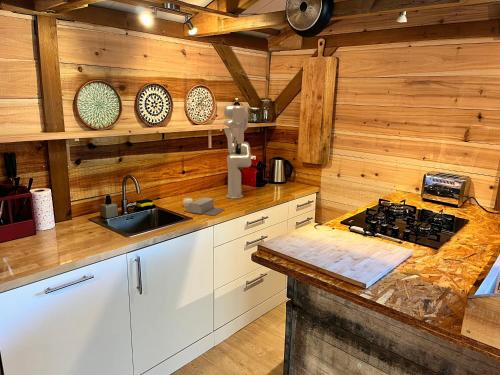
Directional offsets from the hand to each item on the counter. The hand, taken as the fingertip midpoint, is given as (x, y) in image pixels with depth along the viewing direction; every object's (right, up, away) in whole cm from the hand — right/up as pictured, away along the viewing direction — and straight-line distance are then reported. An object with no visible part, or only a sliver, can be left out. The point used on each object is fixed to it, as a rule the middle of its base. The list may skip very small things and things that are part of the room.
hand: (238, 154), depth 250 cm
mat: (-21, -37, -4) cm, 43 cm away
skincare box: (-19, -31, +2) cm, 37 cm away
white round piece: (-34, -34, +6) cm, 48 cm away
